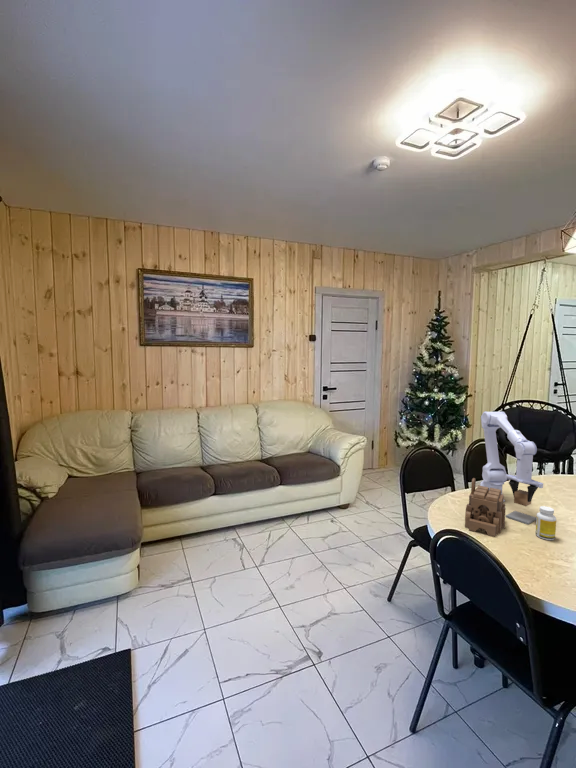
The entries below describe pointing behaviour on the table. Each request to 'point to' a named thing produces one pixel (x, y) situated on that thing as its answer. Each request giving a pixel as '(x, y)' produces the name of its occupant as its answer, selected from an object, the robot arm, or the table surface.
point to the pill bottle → (546, 523)
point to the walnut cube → (521, 497)
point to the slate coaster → (521, 517)
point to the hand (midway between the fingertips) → (522, 499)
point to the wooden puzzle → (485, 510)
